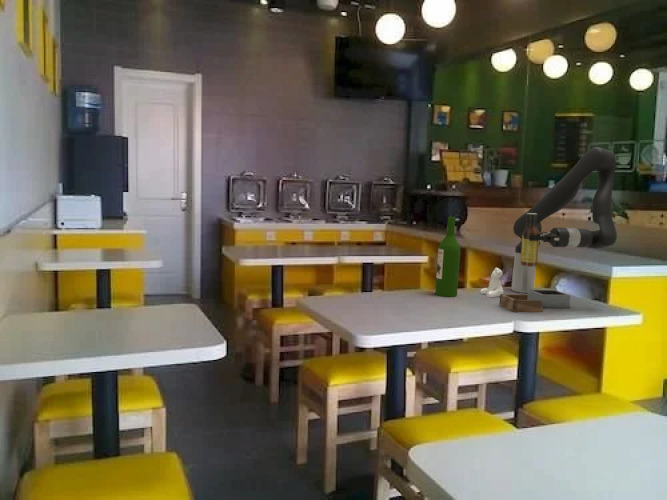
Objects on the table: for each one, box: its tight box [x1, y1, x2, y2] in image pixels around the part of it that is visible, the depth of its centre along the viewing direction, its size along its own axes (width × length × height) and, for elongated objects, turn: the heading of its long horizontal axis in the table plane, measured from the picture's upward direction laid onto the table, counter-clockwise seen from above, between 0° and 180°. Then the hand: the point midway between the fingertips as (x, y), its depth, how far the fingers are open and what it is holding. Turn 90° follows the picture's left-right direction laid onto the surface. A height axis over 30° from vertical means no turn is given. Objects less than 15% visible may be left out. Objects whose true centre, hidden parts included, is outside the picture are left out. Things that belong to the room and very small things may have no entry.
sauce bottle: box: [521, 213, 540, 267], centre depth 233 cm, size 6×6×20 cm
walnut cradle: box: [498, 293, 544, 313], centre depth 236 cm, size 12×12×4 cm
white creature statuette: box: [480, 267, 504, 298], centre depth 261 cm, size 10×9×12 cm
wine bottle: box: [434, 216, 461, 298], centre depth 255 cm, size 9×9×32 cm
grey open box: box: [527, 289, 571, 309], centre depth 247 cm, size 11×12×5 cm
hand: (525, 236), depth 233 cm, fingers closed on sauce bottle, 6 cm apart
